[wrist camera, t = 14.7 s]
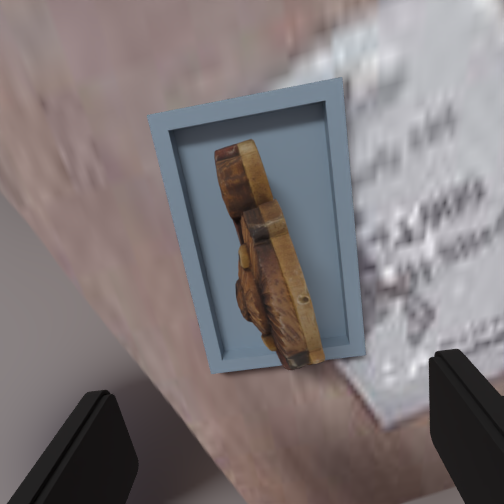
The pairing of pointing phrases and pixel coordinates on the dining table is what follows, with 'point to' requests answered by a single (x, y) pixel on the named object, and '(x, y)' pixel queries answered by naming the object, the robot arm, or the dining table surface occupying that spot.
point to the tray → (290, 200)
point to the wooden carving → (267, 260)
